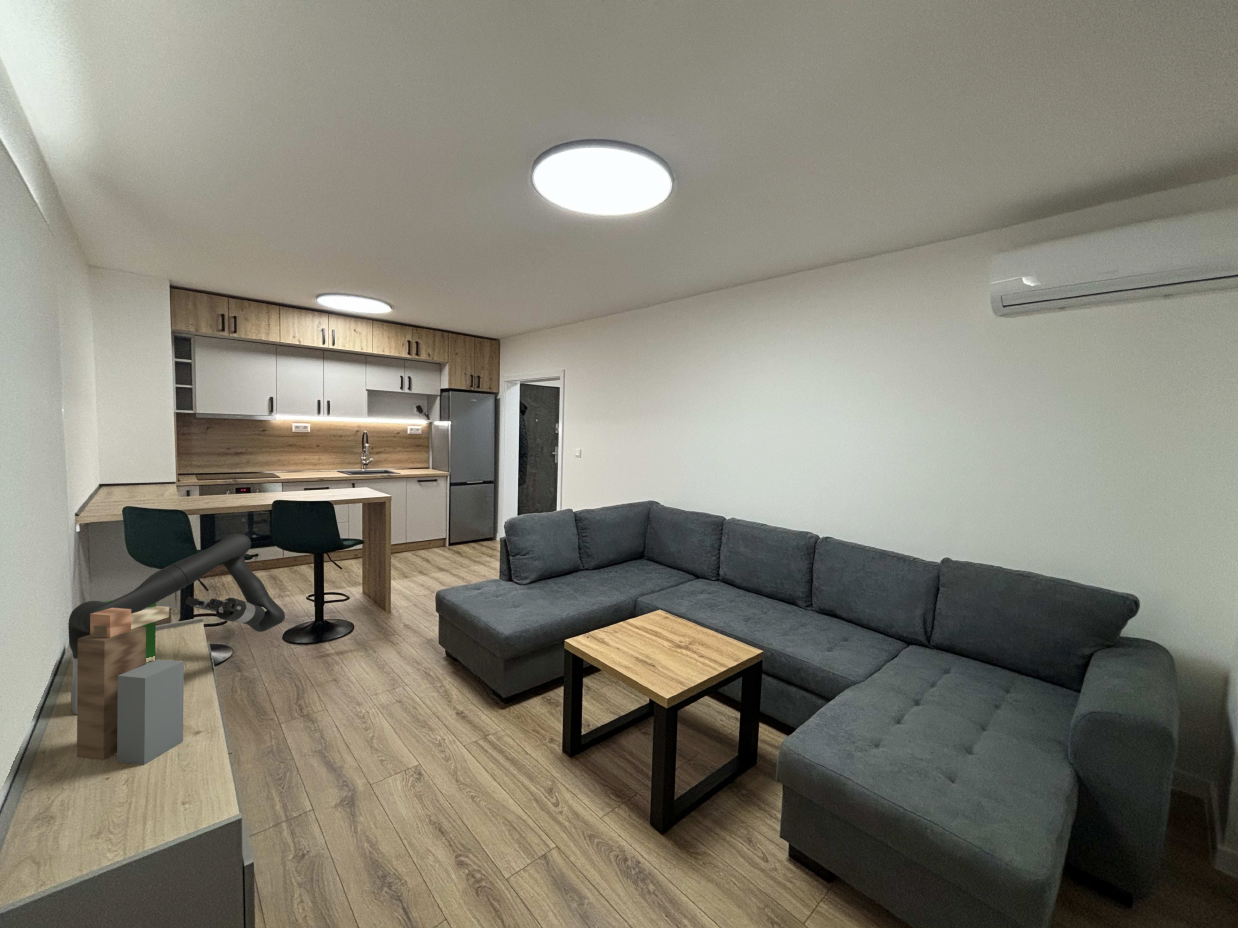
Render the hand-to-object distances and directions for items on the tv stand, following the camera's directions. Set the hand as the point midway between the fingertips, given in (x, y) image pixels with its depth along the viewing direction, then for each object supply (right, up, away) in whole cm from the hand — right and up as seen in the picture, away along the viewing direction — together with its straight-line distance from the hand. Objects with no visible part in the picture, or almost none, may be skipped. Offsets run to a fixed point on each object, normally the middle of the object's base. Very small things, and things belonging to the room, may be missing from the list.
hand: (198, 600), depth 158 cm
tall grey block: (+12, -33, -28) cm, 45 cm away
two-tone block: (+1, -1, -23) cm, 23 cm away
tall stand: (0, -33, -27) cm, 42 cm away
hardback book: (-47, -30, +21) cm, 60 cm away
